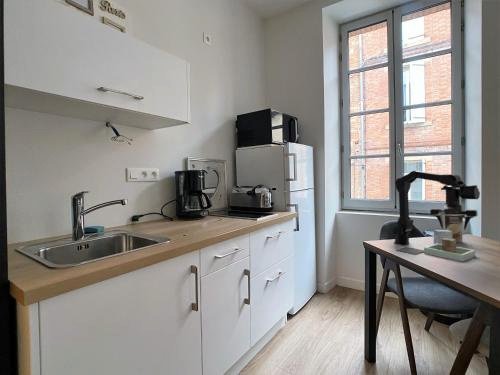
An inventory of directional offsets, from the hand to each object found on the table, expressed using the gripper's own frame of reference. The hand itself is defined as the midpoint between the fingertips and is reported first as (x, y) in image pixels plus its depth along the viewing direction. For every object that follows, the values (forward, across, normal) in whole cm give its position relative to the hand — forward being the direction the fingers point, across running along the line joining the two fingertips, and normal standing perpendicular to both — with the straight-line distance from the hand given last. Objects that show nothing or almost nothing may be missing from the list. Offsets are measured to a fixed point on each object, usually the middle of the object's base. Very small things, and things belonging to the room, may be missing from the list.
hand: (453, 229), depth 135 cm
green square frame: (+13, -2, -2) cm, 13 cm away
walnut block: (+13, -2, -2) cm, 13 cm away
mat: (+13, -18, -7) cm, 23 cm away
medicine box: (+13, -8, +17) cm, 23 cm away
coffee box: (+13, -6, +33) cm, 36 cm away
